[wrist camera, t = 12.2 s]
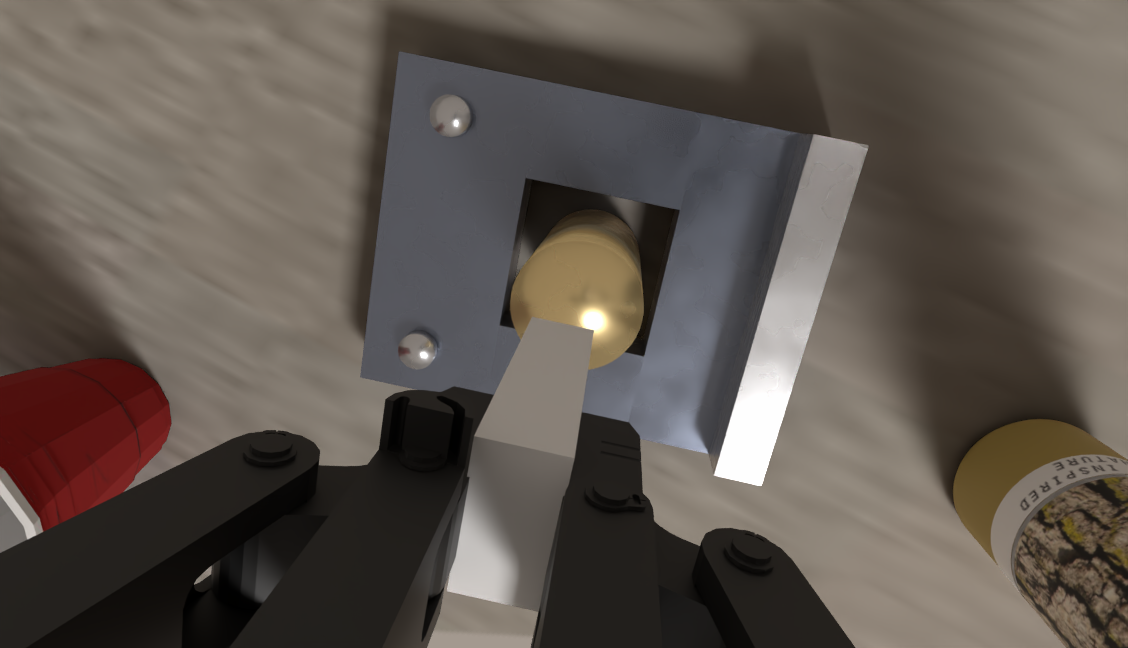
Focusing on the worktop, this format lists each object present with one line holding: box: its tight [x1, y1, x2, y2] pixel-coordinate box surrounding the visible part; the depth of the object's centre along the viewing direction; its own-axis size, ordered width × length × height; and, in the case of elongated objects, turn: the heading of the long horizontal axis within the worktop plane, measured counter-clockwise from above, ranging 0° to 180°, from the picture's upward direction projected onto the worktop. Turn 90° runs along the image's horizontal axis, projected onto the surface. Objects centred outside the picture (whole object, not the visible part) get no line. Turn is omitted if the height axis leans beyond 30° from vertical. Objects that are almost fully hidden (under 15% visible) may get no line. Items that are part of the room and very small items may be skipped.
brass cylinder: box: [510, 209, 644, 370], centre depth 27 cm, size 4×4×9 cm
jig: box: [360, 51, 869, 486], centre depth 29 cm, size 18×14×4 cm
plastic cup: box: [0, 358, 171, 553], centre depth 30 cm, size 11×11×12 cm
